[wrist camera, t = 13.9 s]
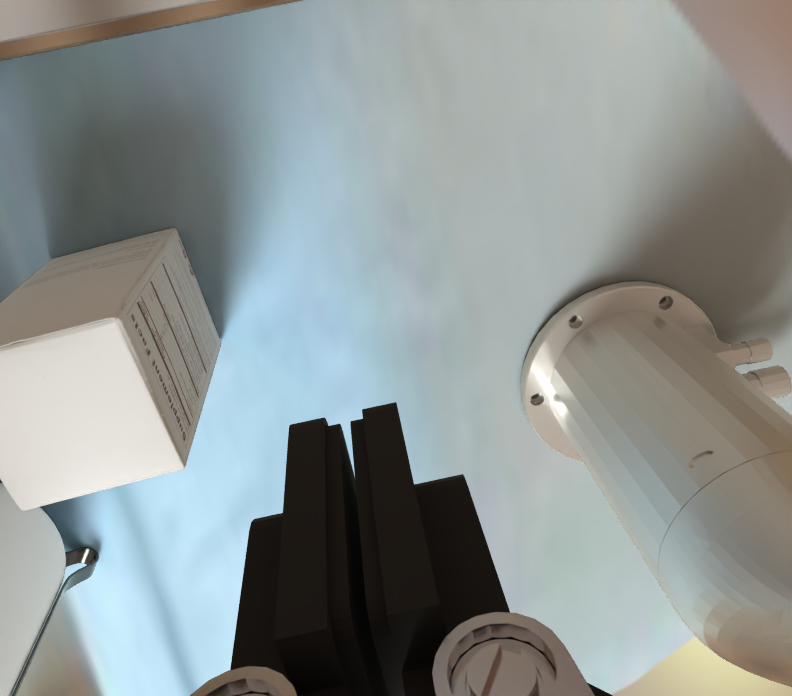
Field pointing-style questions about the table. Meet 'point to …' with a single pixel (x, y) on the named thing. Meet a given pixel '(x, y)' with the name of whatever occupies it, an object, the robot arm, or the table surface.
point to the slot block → (101, 20)
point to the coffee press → (30, 583)
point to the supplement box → (102, 369)
